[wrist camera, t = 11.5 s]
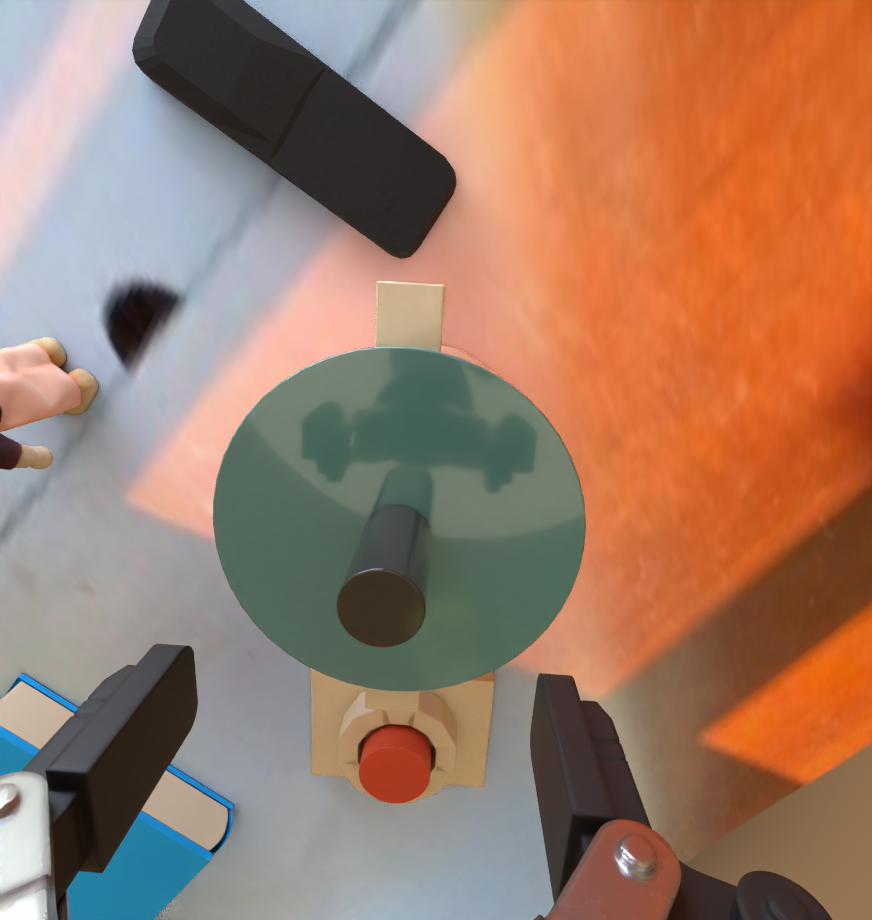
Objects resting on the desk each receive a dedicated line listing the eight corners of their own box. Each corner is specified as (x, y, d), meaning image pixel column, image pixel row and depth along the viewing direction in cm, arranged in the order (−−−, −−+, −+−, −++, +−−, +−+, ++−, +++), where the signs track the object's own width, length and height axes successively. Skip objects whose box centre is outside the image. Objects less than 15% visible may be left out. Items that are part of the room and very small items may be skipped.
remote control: (464, 178, 27) (184, -41, 24) (466, 171, 25) (165, -66, 22) (407, 266, 28) (135, 68, 25) (405, 265, 26) (113, 52, 23)
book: (-189, 944, 37) (-40, 720, 31) (-125, 879, 42) (19, 669, 35) (35, 1054, 40) (215, 869, 34) (74, 983, 44) (241, 806, 38)
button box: (493, 665, 34) (497, 706, 31) (482, 768, 36) (485, 816, 33) (316, 653, 34) (301, 692, 31) (316, 756, 36) (303, 802, 33)
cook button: (433, 725, 32) (432, 749, 30) (429, 780, 33) (428, 806, 31) (364, 720, 32) (358, 744, 30) (362, 775, 33) (357, 801, 31)
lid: (604, 356, 20) (669, 383, 14) (555, 684, 24) (590, 814, 18) (215, 331, 20) (112, 347, 14) (233, 661, 24) (160, 783, 18)
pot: (550, 294, 28) (598, 293, 18) (514, 611, 33) (537, 733, 24) (297, 278, 28) (220, 270, 19) (301, 596, 33) (243, 712, 24)
